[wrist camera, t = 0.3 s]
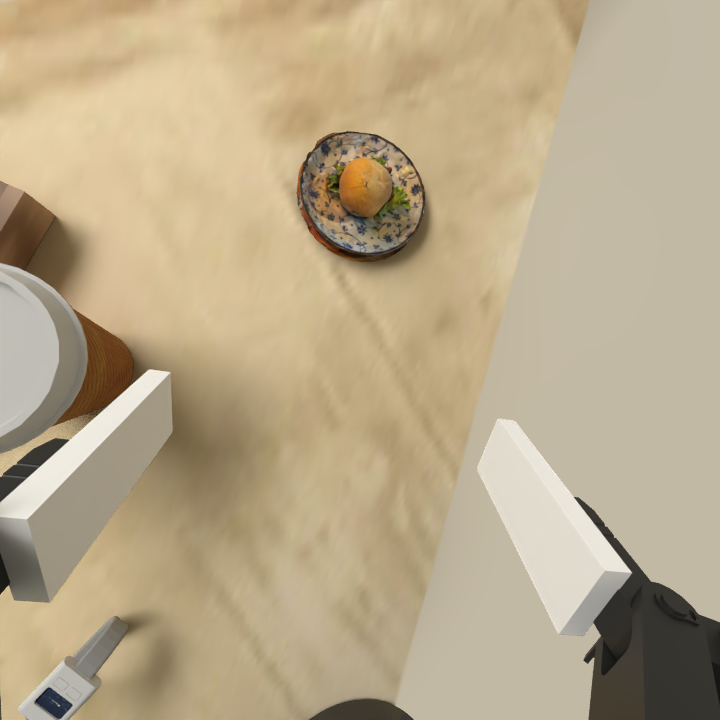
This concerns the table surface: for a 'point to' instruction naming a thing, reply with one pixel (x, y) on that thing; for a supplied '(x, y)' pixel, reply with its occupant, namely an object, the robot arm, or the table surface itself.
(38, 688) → the wristwatch
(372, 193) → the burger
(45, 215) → the rectangular wooden frame
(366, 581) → the table surface
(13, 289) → the disposable coffee cup
